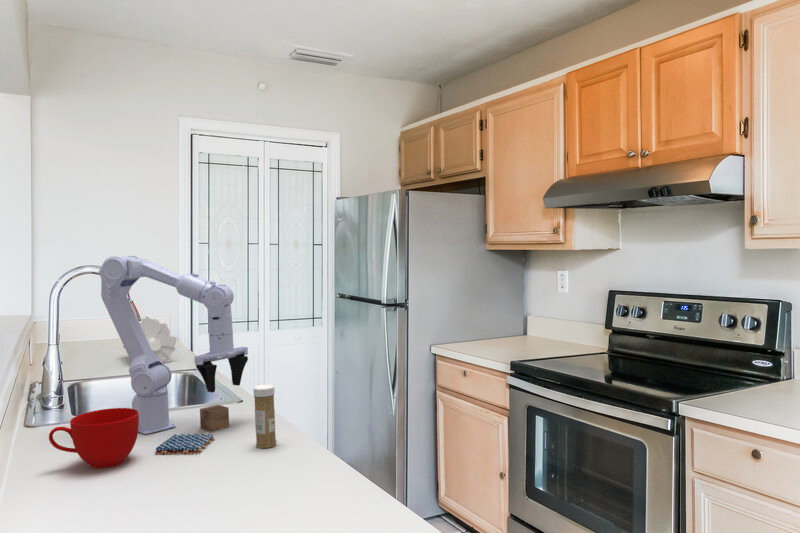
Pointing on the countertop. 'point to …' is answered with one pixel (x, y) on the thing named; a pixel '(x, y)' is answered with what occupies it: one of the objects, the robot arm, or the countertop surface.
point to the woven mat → (184, 444)
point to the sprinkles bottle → (264, 416)
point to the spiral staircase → (158, 337)
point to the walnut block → (214, 418)
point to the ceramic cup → (102, 436)
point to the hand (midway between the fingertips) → (224, 388)
